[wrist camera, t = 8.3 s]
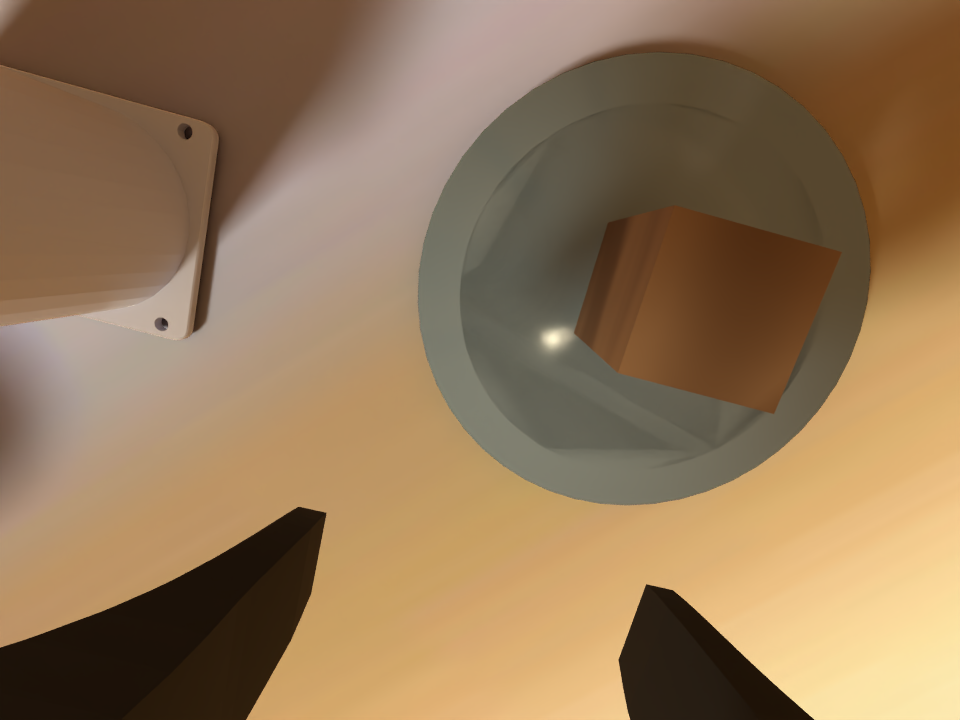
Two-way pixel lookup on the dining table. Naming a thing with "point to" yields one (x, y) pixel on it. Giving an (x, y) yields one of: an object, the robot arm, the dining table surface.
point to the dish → (573, 253)
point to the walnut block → (704, 304)
